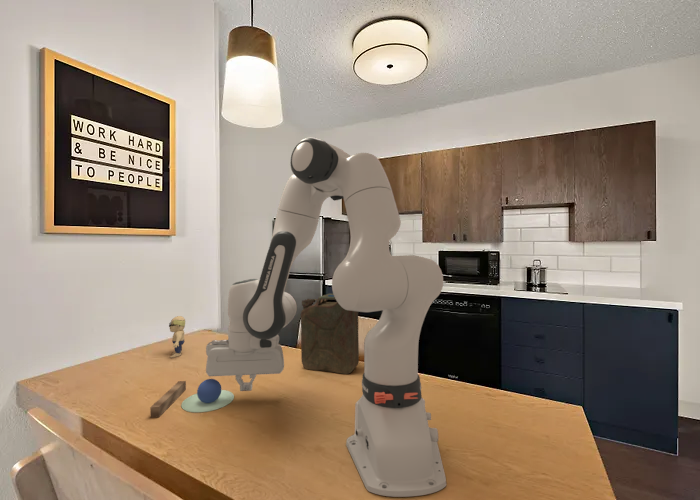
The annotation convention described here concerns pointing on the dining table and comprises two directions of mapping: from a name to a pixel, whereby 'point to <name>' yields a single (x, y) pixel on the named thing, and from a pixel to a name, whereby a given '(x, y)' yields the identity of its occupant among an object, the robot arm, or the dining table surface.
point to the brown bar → (167, 399)
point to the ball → (209, 391)
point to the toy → (177, 334)
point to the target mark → (198, 406)
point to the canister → (329, 336)
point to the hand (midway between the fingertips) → (246, 390)
